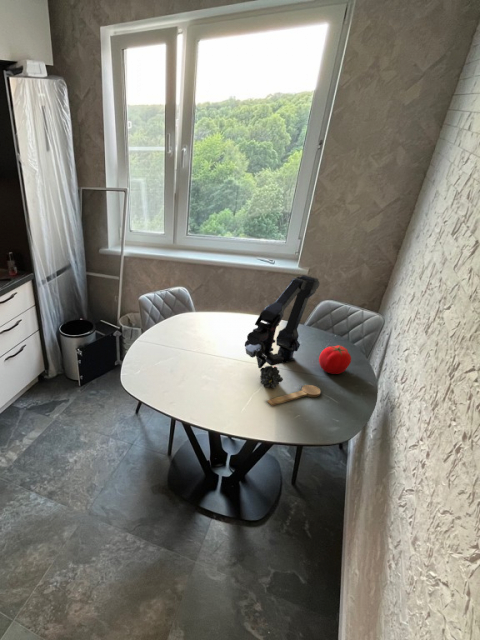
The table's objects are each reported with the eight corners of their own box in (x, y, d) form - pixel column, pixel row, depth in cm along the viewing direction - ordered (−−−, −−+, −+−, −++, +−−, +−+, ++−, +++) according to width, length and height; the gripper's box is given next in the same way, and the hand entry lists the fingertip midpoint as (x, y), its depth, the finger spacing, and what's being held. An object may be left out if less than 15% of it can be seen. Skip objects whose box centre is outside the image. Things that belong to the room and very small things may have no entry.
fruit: (263, 354, 175) (269, 372, 163) (281, 360, 175) (288, 379, 163) (254, 369, 180) (258, 388, 168) (271, 375, 180) (277, 394, 168)
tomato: (311, 371, 179) (318, 349, 172) (322, 359, 187) (328, 337, 180) (341, 381, 172) (349, 358, 165) (350, 368, 179) (358, 345, 173)
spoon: (310, 385, 170) (311, 383, 169) (323, 394, 164) (324, 392, 164) (264, 399, 164) (264, 396, 163) (275, 408, 158) (276, 406, 158)
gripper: (237, 331, 174) (231, 361, 183) (265, 351, 159) (258, 383, 168) (258, 326, 177) (252, 356, 186) (288, 345, 162) (279, 377, 171)
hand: (259, 367), depth 178 cm, fingers closed
